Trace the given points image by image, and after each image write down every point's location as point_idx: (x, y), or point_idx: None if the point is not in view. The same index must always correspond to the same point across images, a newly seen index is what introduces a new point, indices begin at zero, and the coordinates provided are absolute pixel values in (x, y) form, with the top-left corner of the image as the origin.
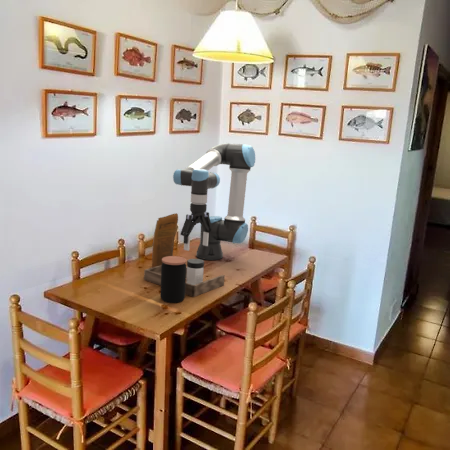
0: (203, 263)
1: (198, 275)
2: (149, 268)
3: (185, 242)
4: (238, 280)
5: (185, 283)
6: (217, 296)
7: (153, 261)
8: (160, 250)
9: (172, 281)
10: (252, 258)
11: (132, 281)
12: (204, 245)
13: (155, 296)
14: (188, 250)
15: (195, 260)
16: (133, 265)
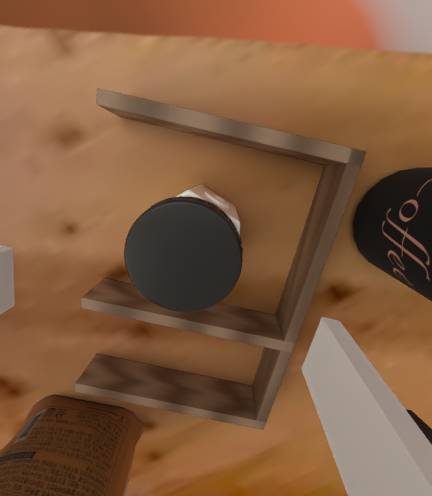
0: (174, 199)
1: (222, 202)
2: (235, 423)
3: (428, 436)
4: (10, 69)
5: (429, 180)
6: (279, 57)
7: (128, 450)
8: (86, 490)
9: None
10: None
11: (293, 412)
12: (13, 281)
13: (398, 286)
14: (333, 321)
15: (173, 265)
16: (152, 477)
